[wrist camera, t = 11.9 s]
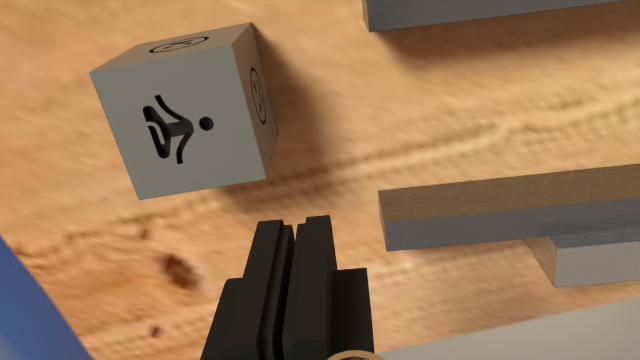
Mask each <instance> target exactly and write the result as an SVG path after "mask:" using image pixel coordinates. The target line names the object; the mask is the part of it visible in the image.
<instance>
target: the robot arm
mask: <svg viewBox="0 0 640 360" xmlns="http://www.w3.org/2000/svg"><path fill="white" fill-rule="evenodd" d="M200 360H384V359H383V358H382V357H380V356H378V355H376V354H375V353H374V341H373V329H372V317H371V307H370V297H369V287H368V277H367V268H356V269H344V270H337V263H336V255H335V248H334V240H333V233H332V225H331V219H330V215H325V216H314V217H306V223H304V224H298V226H297V233H296V240H295V238H294V233H293V228H292V225H284V223H283V220H282V219H281V220H270V221H259V222H258V224H257V228H256V231H255V235H254V239H253V242H252V246H251V249H250V253H249V257H248V260H247V264H246V267H245V271H244V275H243V278H232V279H228V280H226V283H225V285H224V288H223V291H222V294H221V297H220V300H219V303H218V306H217V309H216V312H215V316H214V319H213V322H212V325H211V328H210V331H209V334H208V337H207V340H206V343H205V346H204V349H203V353H202V356H201V359H200Z"/></svg>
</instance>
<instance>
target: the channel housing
mask: <svg viewBox="0 0 640 360" xmlns="http://www.w3.org/2000/svg"><path fill="white" fill-rule="evenodd" d="M617 1H625V0H362V6H363V18H364V22H365V24H366V27H367V29H368V31H369V32H376V31H384V30H392V29H400V28H408V27H416V26H424V25H432V24H440V23H448V22H456V21H464V20H472V19H480V18H488V17H497V16H505V15H513V14H521V13H529V12H537V11H545V10H553V9H561V8H569V7H577V6H585V5H593V4H601V3H609V2H617ZM378 197H379V209H380V219H381V224H382V230H383V235H384V240H385V246H386V251H398V250H408V249H419V248H429V247H440V246H450V245H461V244H471V243H481V242H492V241H502V240H513V239H523V240H524V242H525V243H526V245H527V246H528V248H529V250H530V251H531V253H532V254H533V256H534V257H535V259H536V260H537V262H538V263H539V265H540V267H541V268H542V270H543V271H544V273H545V274H546V276H547V277H548V279H549V280H550V282H551V284H552V285H553V287H554V288H556V287H567V286H578V285H590V284H601V283H612V282H623V281H635V280H640V164H632V165H623V166H613V167H603V168H594V169H584V170H574V171H565V172H555V173H545V174H536V175H526V176H516V177H507V178H497V179H488V180H478V181H468V182H459V183H449V184H439V185H430V186H420V187H410V188H401V189H391V190H382V191H378Z"/></svg>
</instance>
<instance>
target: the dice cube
mask: <svg viewBox="0 0 640 360" xmlns="http://www.w3.org/2000/svg"><path fill="white" fill-rule="evenodd" d="M89 74H90V76H91V79H92V82H93V84H94V87H95V89H96V92H97V94H98V97H99V99H100V102H101V105H102V107H103V110H104V112H105V115H106V117H107V120H108V122H109V125H110V128H111V130H112V133H113V135H114V138H115V140H116V143H117V146H118V148H119V151H120V153H121V156H122V158H123V161H124V163H125V166H126V169H127V171H128V174H129V176H130V179H131V181H132V184H133V186H134V189H135V192H136V194H137V197H138V199H139V200H144V199H150V198H156V197H162V196H168V195H174V194H180V193H186V192H192V191H198V190H204V189H210V188H216V187H222V186H227V185H233V184H239V183H245V182H251V181H257V180H263V179H267V175H268V171H269V167H270V163H271V159H272V155H273V151H274V147H275V143H276V139H277V135H278V130H277V126H276V122H275V118H274V114H273V110H272V105H271V101H270V97H269V93H268V89H267V85H266V81H265V76H264V72H263V68H262V64H261V60H260V56H259V51H258V47H257V43H256V39H255V35H254V31H253V26H252V22H249V23H244V24H239V25H234V26H229V27H224V28H219V29H214V30H209V31H204V32H199V33H194V34H189V35H184V36H179V37H174V38H169V39H164V40H159V41H154V42H149V43H144V44H139V45H137V46H135V47H133V48H131V49H129V50H128V51H126V52H124V53H122V54H121V55H119V56H117V57H115V58H113V59H112V60H110V61H108V62H106V63H105V64H103V65H101V66H99V67H97V68H96V69H94V70H92V71H90V72H89Z"/></svg>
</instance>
